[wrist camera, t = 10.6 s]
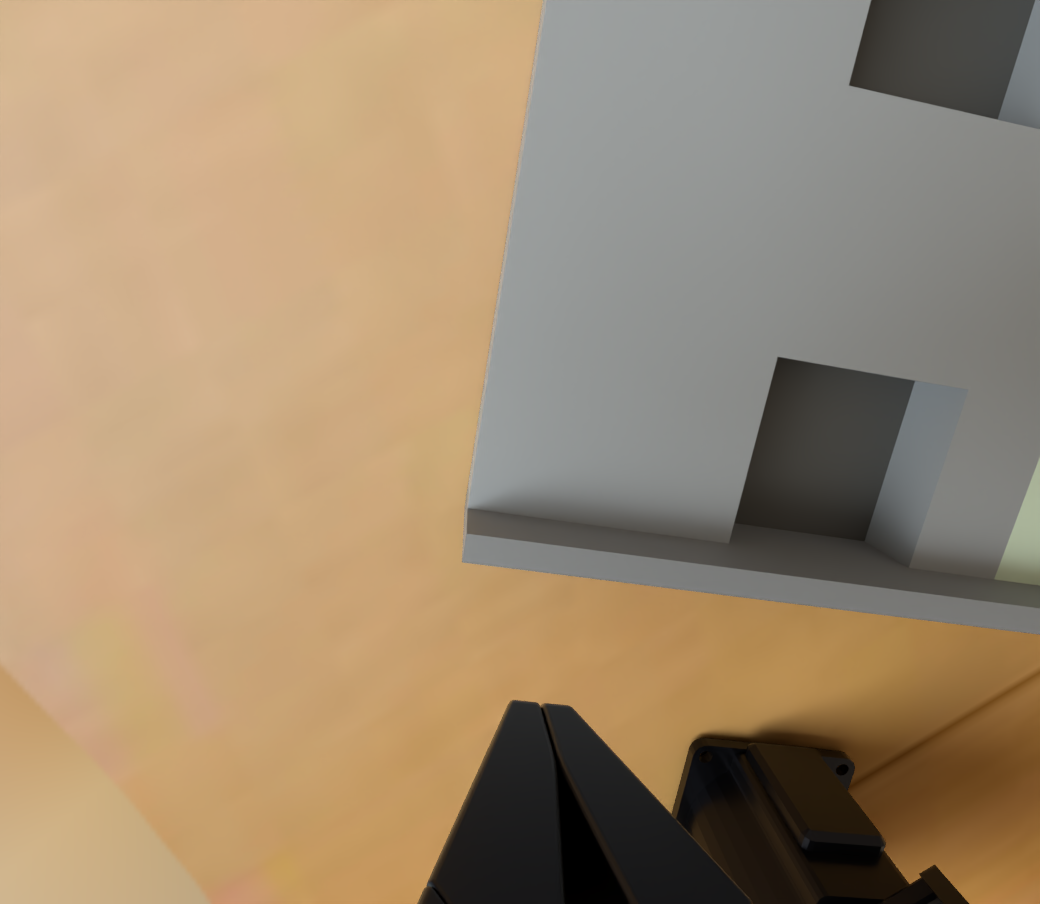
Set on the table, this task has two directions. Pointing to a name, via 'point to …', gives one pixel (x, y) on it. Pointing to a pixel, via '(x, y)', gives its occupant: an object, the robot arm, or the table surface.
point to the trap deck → (774, 307)
